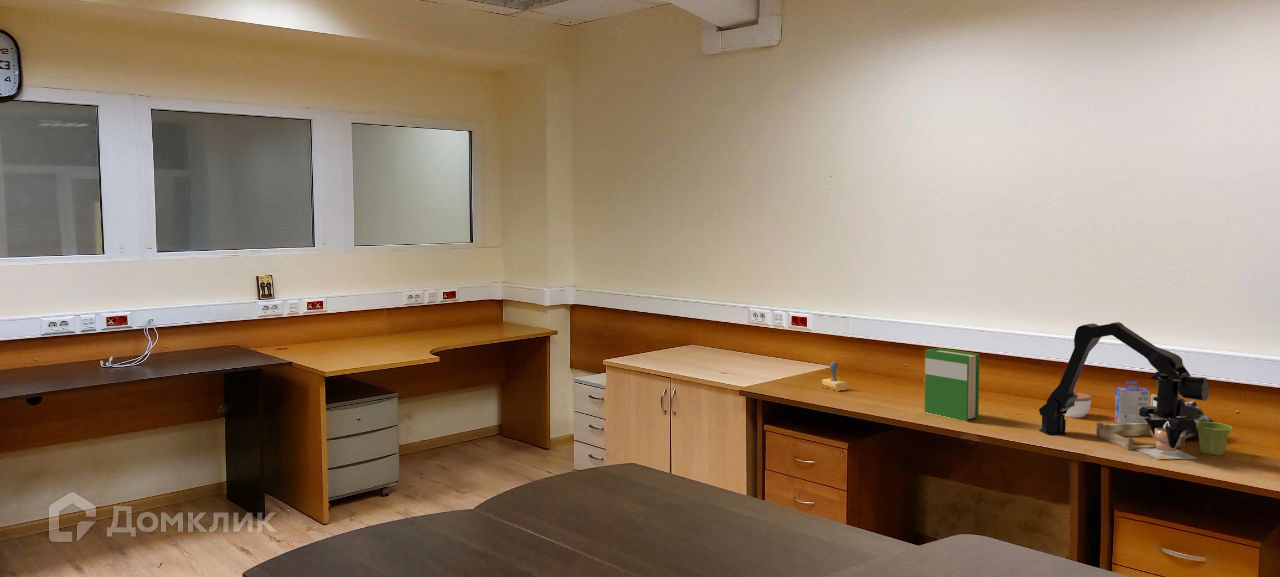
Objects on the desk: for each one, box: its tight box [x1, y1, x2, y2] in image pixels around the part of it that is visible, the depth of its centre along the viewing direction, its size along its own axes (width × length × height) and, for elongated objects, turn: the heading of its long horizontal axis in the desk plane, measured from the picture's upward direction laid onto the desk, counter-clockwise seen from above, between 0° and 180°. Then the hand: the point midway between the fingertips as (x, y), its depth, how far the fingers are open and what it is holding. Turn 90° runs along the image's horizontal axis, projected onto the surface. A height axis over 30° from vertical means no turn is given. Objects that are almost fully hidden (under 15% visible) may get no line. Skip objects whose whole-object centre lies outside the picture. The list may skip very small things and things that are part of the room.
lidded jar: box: [1064, 390, 1092, 419], centre depth 318 cm, size 11×11×9 cm
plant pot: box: [1196, 421, 1233, 456], centre depth 268 cm, size 9×9×9 cm
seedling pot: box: [1154, 423, 1176, 451], centre depth 267 cm, size 6×6×8 cm
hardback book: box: [924, 347, 981, 422], centre depth 320 cm, size 18×7×24 cm, turn 35°
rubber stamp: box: [821, 360, 847, 389], centre depth 372 cm, size 10×6×12 cm, turn 25°
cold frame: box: [1095, 421, 1186, 451], centre depth 282 cm, size 18×17×5 cm
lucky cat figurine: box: [1179, 397, 1215, 440], centre depth 288 cm, size 15×12×14 cm
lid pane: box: [1149, 393, 1187, 440], centre depth 282 cm, size 1×16×11 cm, turn 3°
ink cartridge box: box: [1114, 380, 1151, 424], centre depth 306 cm, size 10×6×14 cm, turn 78°
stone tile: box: [1135, 448, 1198, 460], centre depth 267 cm, size 12×11×1 cm
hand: (1165, 445), depth 267 cm, fingers closed on seedling pot, 6 cm apart
